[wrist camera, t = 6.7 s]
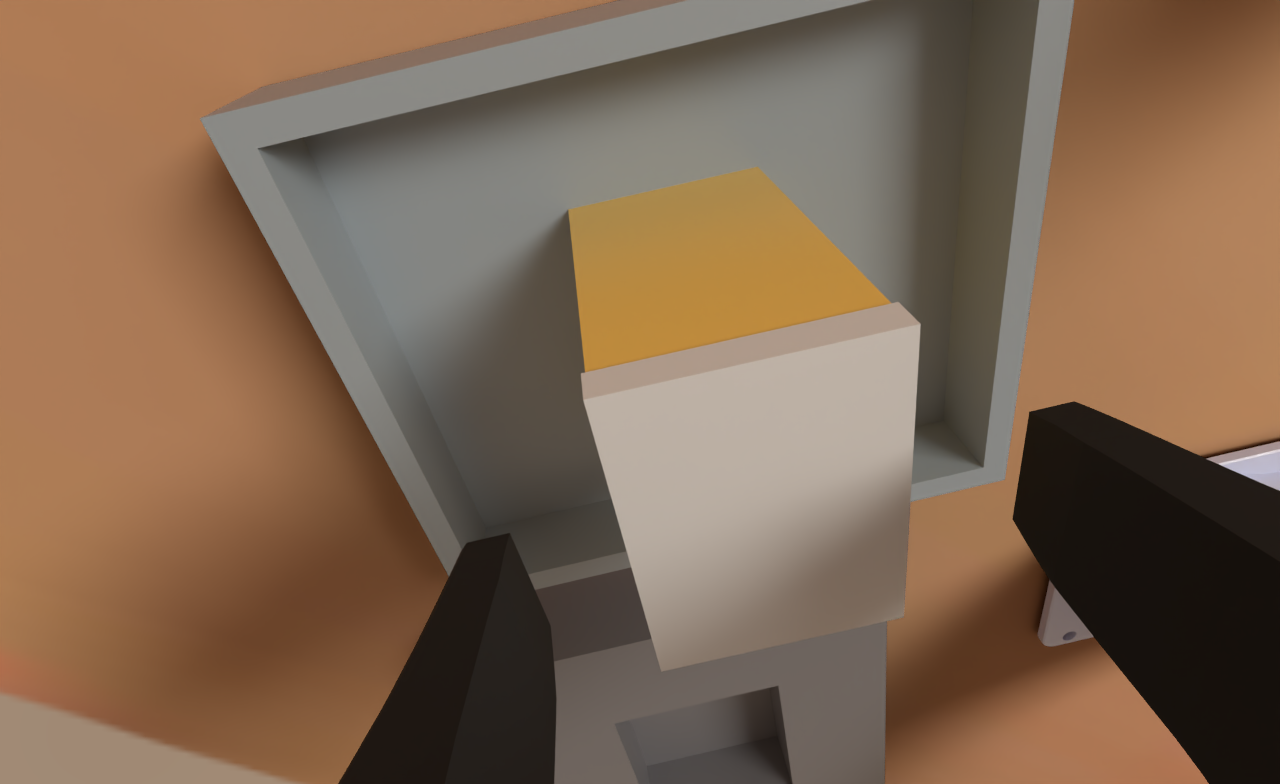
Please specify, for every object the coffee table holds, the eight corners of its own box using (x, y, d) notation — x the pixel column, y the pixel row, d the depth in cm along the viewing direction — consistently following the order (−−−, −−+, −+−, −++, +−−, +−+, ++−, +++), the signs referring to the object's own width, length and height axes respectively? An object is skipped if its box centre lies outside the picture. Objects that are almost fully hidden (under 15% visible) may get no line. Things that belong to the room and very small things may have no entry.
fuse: (759, 163, 14) (919, 323, 8) (778, 385, 17) (903, 616, 11) (565, 207, 14) (582, 399, 8) (619, 421, 17) (661, 671, 11)
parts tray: (988, -90, 13) (1088, -97, 10) (949, 415, 19) (1005, 479, 17) (261, 86, 13) (199, 119, 10) (474, 527, 19) (465, 606, 17)
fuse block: (849, 513, 21) (887, 584, 19) (856, 744, 29) (884, 813, 27) (475, 601, 21) (466, 681, 19) (583, 807, 29) (587, 881, 27)
